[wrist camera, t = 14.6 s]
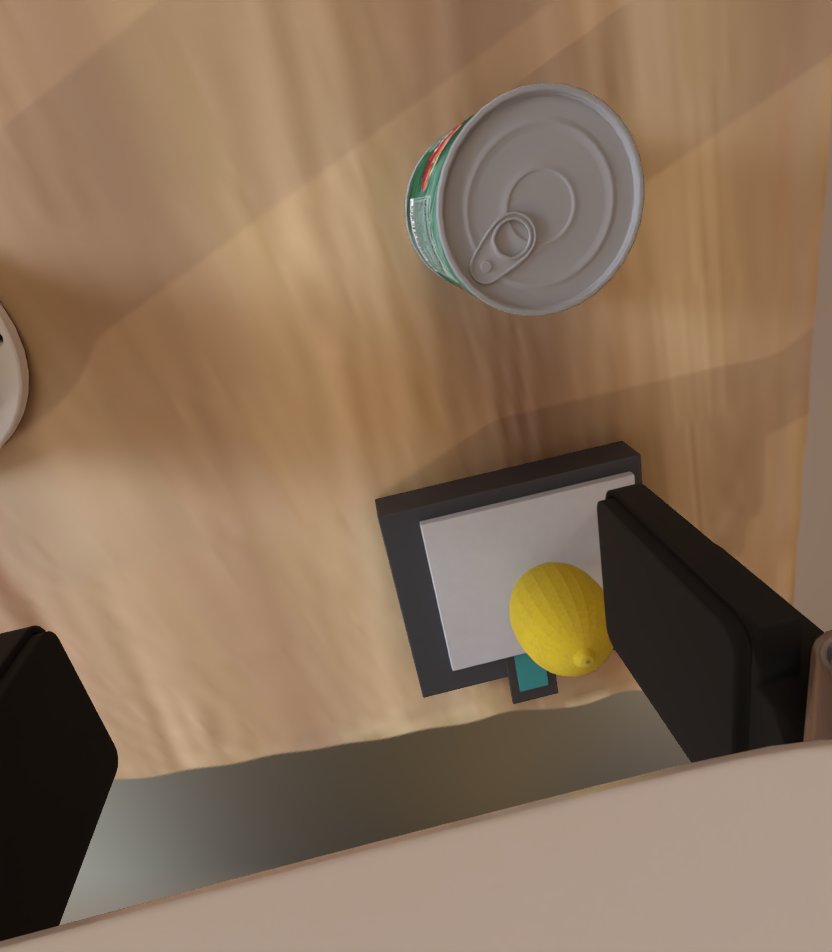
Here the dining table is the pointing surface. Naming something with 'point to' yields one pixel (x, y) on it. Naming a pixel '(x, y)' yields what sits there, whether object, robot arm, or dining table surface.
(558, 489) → the scale
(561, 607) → the lemon
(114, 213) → the dining table surface
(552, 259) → the canned tomato
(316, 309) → the dining table surface
